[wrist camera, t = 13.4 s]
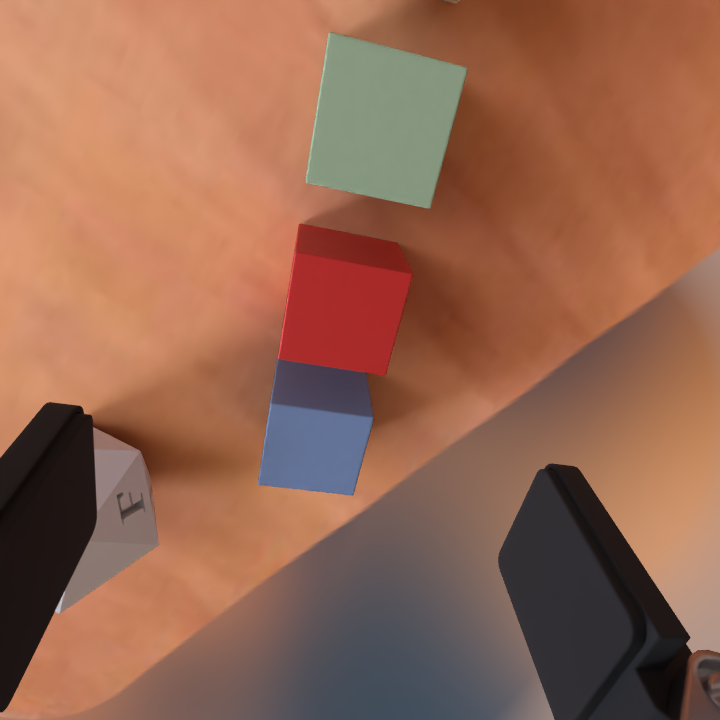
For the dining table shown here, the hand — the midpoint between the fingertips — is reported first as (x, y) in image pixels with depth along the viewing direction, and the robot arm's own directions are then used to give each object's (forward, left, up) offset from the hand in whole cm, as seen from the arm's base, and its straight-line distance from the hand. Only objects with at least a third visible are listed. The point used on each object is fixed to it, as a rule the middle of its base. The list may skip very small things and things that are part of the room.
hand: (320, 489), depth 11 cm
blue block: (+8, +1, -17) cm, 19 cm away
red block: (+1, +1, -17) cm, 17 cm away
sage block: (-7, +1, -17) cm, 18 cm away
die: (+15, -11, -17) cm, 25 cm away
